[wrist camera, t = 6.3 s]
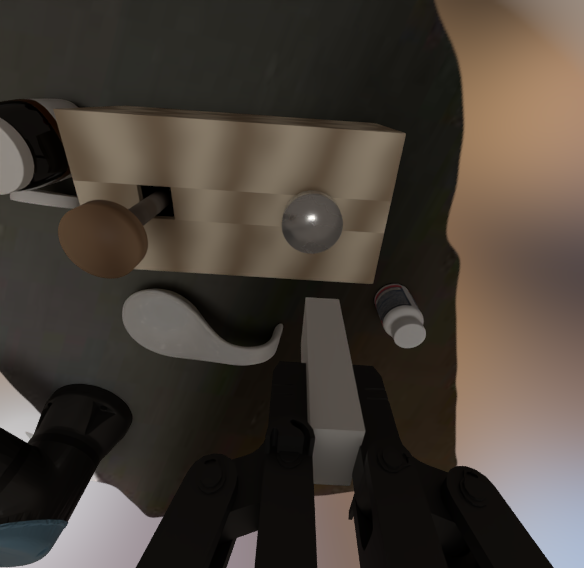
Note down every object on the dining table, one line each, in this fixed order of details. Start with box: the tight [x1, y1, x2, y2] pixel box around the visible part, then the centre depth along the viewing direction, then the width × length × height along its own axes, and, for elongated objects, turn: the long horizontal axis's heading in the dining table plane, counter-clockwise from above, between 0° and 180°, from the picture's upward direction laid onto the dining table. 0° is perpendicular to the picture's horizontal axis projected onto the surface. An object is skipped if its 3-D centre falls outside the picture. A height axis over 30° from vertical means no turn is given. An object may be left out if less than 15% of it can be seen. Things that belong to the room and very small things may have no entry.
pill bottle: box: [374, 284, 426, 348], centre depth 44 cm, size 5×5×9 cm
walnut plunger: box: [58, 186, 173, 278], centre depth 26 cm, size 5×5×14 cm
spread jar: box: [0, 98, 80, 208], centre depth 33 cm, size 12×11×12 cm
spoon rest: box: [122, 288, 283, 365], centre depth 47 cm, size 24×12×7 cm, turn 77°
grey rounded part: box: [282, 190, 343, 254], centre depth 32 cm, size 5×5×14 cm
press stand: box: [53, 106, 406, 284], centre depth 34 cm, size 28×14×12 cm, turn 86°
